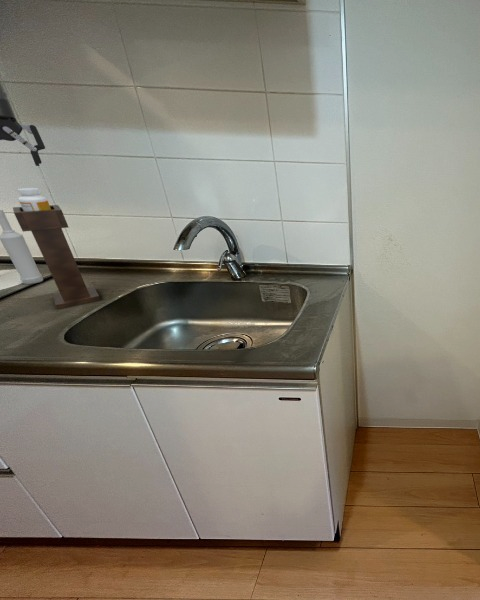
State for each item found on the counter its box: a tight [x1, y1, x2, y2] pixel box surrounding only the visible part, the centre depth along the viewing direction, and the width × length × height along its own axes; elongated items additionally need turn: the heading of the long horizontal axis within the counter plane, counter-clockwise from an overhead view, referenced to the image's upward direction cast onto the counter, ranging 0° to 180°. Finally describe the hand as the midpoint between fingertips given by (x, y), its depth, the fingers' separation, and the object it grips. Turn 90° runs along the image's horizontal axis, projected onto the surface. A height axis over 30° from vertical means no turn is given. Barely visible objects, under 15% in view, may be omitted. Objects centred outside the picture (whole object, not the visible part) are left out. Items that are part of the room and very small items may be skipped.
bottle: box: [0, 209, 44, 285], centre depth 104 cm, size 5×5×25 cm
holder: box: [12, 204, 101, 310], centre depth 94 cm, size 10×10×29 cm
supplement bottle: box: [17, 187, 51, 211], centre depth 87 cm, size 5×5×10 cm
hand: (14, 165), depth 84 cm, fingers open, 8 cm apart
